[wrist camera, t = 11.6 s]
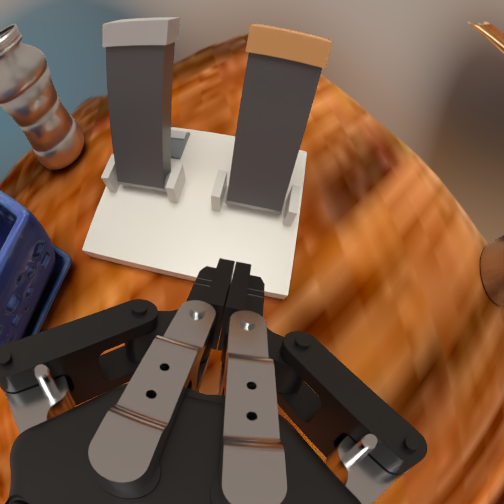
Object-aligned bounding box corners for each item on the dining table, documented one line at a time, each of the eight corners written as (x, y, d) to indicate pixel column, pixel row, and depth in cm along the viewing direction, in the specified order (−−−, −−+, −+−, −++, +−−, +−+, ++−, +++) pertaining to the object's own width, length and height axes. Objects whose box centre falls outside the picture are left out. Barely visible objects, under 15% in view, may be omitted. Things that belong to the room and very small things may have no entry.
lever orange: (228, 193, 29) (254, 23, 16) (282, 204, 29) (328, 39, 17) (223, 208, 27) (250, 25, 15) (280, 220, 27) (332, 43, 15)
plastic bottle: (97, 149, 31) (38, 17, 12) (56, 186, 29) (-29, 68, 11) (76, 127, 32) (23, 11, 13) (39, 160, 30) (-32, 53, 11)
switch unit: (139, 134, 33) (131, 107, 28) (302, 162, 33) (313, 136, 29) (89, 256, 27) (69, 239, 23) (283, 299, 28) (295, 289, 23)
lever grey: (126, 175, 28) (118, 19, 16) (173, 183, 29) (180, 17, 16) (116, 189, 27) (102, 24, 14) (165, 197, 27) (168, 20, 15)
